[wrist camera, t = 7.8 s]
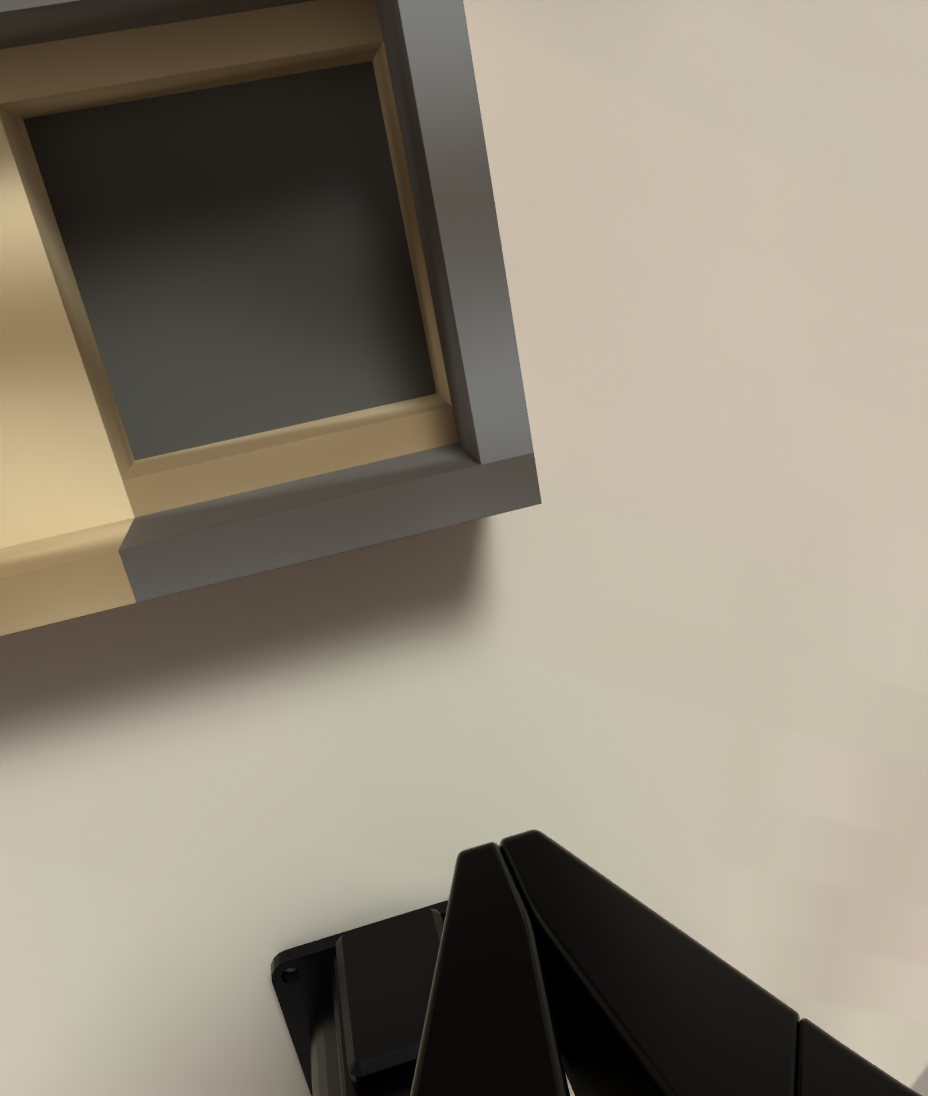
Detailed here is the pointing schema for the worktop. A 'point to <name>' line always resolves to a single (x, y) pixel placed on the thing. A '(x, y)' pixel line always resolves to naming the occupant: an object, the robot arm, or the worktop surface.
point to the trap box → (242, 294)
